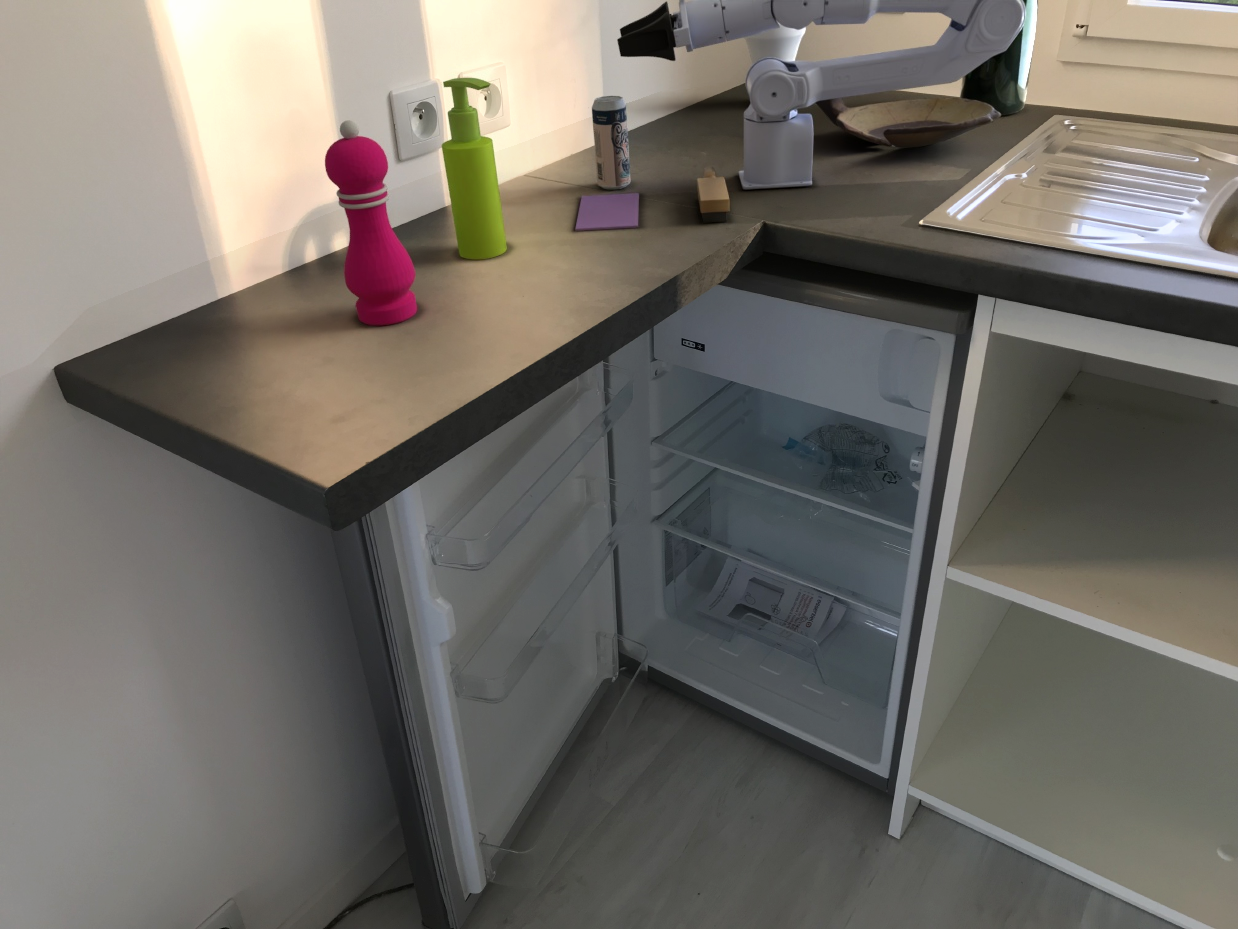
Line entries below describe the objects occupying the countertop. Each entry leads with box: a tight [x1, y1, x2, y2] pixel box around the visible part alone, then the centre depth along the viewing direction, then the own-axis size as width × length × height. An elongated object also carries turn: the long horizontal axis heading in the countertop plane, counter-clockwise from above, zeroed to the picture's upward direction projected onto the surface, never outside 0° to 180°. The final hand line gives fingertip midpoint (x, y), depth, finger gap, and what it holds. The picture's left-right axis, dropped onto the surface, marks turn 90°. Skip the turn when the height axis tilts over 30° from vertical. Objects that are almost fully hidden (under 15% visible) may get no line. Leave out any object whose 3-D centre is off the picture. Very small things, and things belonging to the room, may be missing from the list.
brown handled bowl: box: [814, 97, 1002, 148], centre depth 144 cm, size 22×30×8 cm
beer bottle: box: [959, 0, 1039, 116], centre depth 150 cm, size 10×10×33 cm
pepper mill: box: [324, 120, 418, 326], centre depth 95 cm, size 7×7×20 cm
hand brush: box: [696, 165, 730, 224], centre depth 125 cm, size 4×16×3 cm, turn 179°
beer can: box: [591, 95, 631, 191], centre depth 132 cm, size 5×5×12 cm
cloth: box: [575, 192, 640, 232], centre depth 125 cm, size 8×14×1 cm, turn 178°
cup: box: [743, 20, 807, 66], centre depth 170 cm, size 11×11×14 cm
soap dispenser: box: [441, 77, 508, 261], centre depth 110 cm, size 6×7×20 cm
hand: (620, 42), depth 124 cm, fingers open, 7 cm apart
